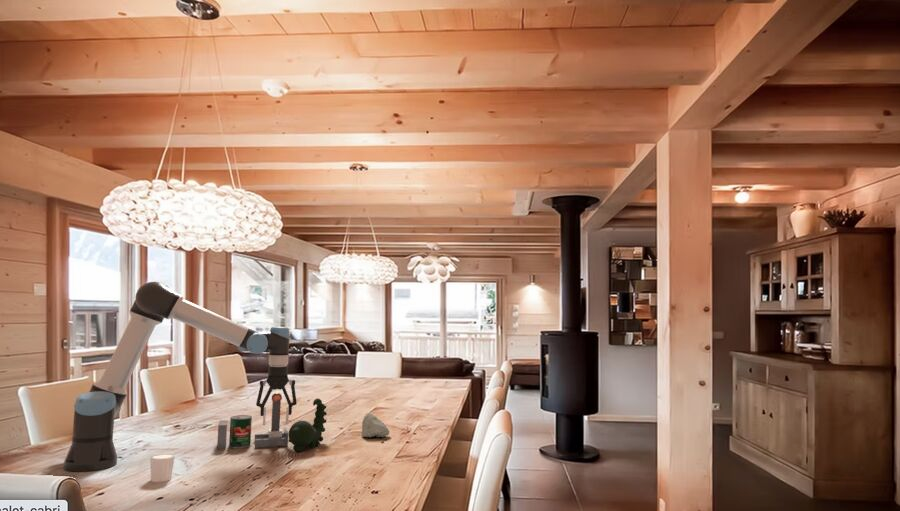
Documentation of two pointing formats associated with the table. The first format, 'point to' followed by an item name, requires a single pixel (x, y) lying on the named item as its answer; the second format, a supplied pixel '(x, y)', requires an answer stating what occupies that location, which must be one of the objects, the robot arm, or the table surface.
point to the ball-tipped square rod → (275, 417)
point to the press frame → (260, 439)
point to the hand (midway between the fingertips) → (275, 423)
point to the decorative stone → (373, 427)
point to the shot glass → (161, 467)
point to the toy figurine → (308, 430)
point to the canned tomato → (240, 431)
